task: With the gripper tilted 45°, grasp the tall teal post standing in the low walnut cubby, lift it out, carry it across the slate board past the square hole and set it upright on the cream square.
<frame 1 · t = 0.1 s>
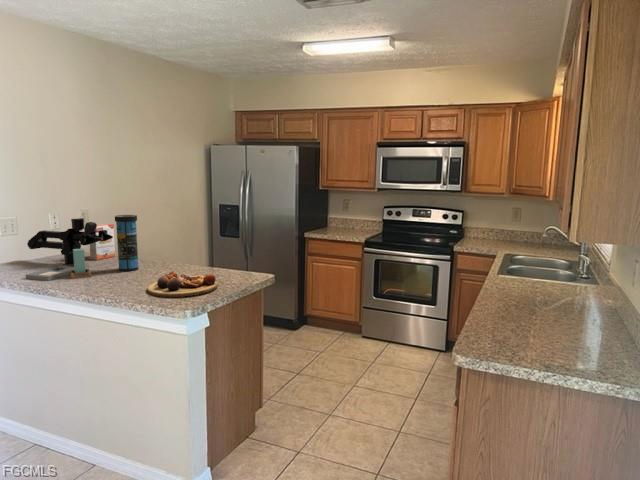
hand: (106, 238, 253), 17 cm above the worktop, tool horizontal, fingers open, 9 cm apart
cubby: (80, 276, 234), on the worktop
post: (79, 262, 233), in the cubby
cracker box: (103, 258, 279), on the worktop
board: (53, 275, 235), on the worktop
wooden plate with food: (183, 289, 214), on the worktop
advertising column: (128, 270, 250), on the worktop
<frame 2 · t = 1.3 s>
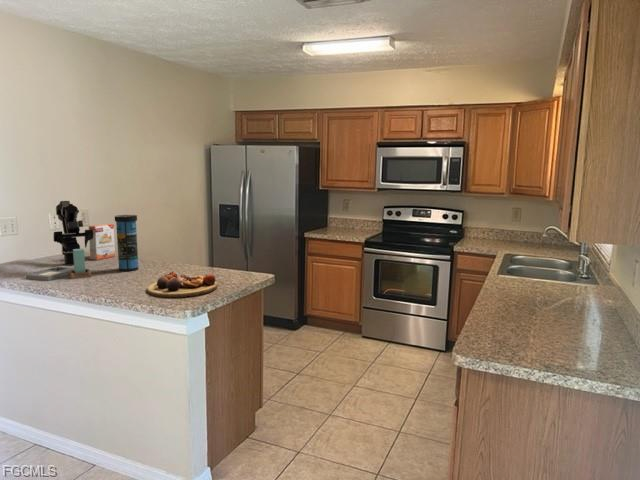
hand: (76, 248, 238), 14 cm above the worktop, tool tilted 45°, fingers open, 9 cm apart
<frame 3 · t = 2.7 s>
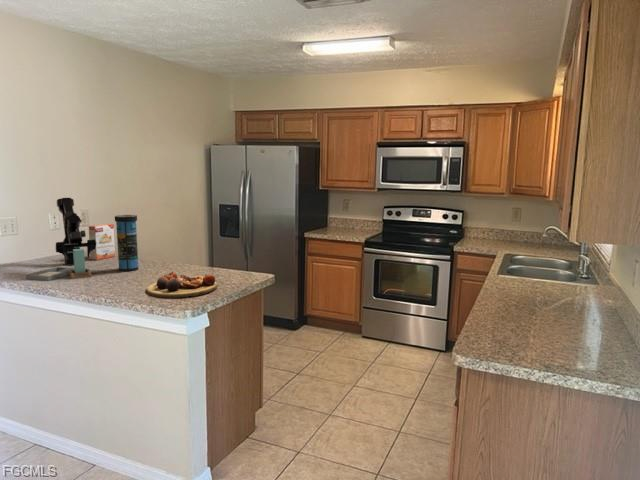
hand: (78, 258, 234), 9 cm above the worktop, tool tilted 45°, fingers open, 9 cm apart
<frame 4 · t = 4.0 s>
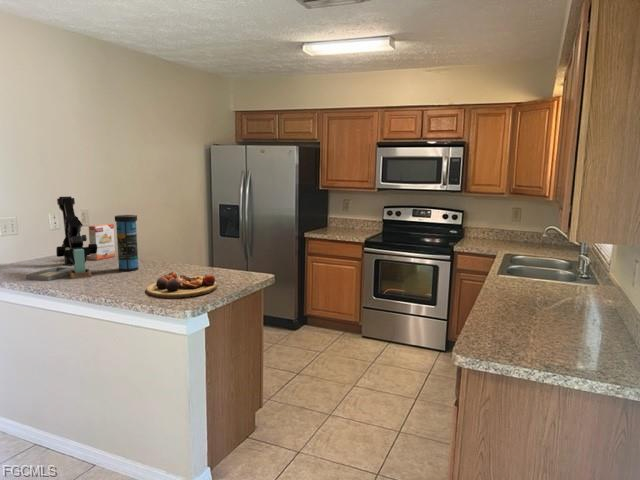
hand: (79, 263, 232), 7 cm above the worktop, tool tilted 45°, fingers closed on post, 4 cm apart
post: (79, 262, 233), in the cubby, touching gripper
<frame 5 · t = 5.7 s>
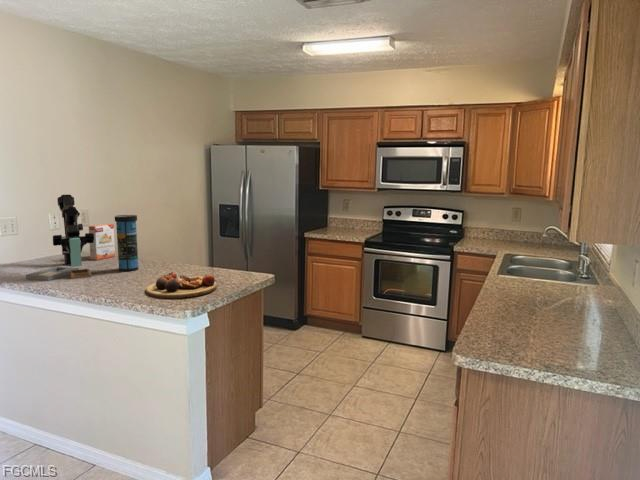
hand: (75, 252, 230), 13 cm above the worktop, tool tilted 45°, fingers closed on post, 4 cm apart
post: (75, 252, 231), point 13 cm above the worktop, touching gripper
when the fingers open (10 cm above the worktop, at t = 7.5 s): post drops 1 cm, resting on board.
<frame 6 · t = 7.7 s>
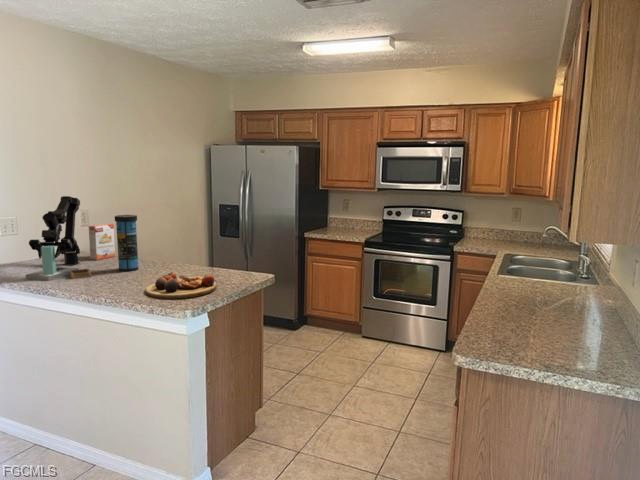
hand: (47, 258, 227), 11 cm above the worktop, tool tilted 45°, fingers open, 7 cm apart
post: (48, 260, 228), on the board, point 9 cm above the worktop
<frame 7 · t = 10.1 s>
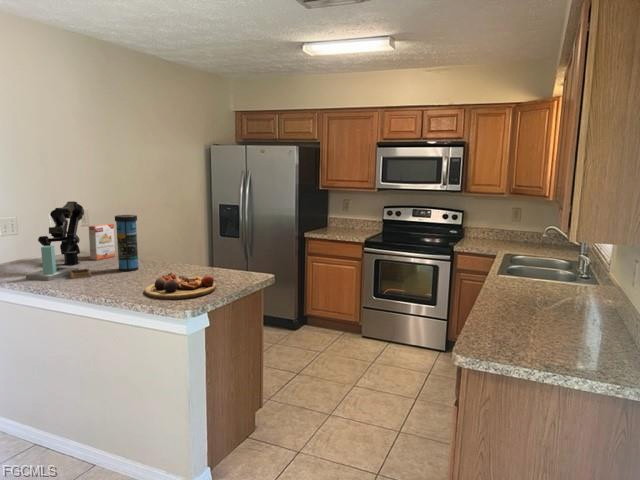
hand: (57, 253, 237), 11 cm above the worktop, tool tilted 40°, fingers open, 9 cm apart
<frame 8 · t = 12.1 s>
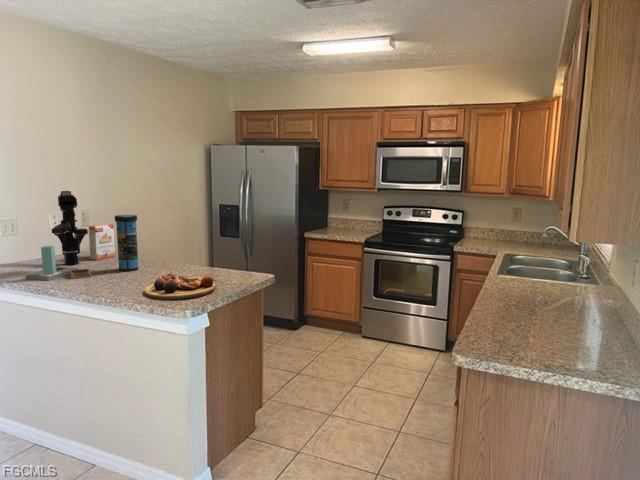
hand: (70, 246, 245), 13 cm above the worktop, tool pointing down, fingers open, 9 cm apart
at the end: post inside the target area on the board (0.0 cm from its centre), point 9.2 cm above the board's base; post tilted 0°; the gripper is holding nothing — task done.
